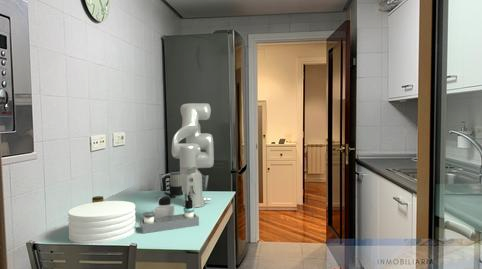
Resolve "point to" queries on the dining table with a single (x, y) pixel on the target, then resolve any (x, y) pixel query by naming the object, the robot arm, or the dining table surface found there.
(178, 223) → the mount
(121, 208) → the plate stack
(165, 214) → the medicine bottle
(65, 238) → the dining table surface
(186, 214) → the knob
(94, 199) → the condiment
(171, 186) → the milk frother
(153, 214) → the knob
